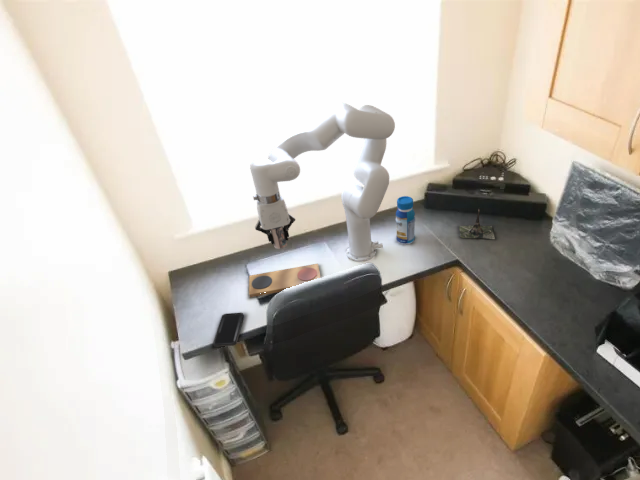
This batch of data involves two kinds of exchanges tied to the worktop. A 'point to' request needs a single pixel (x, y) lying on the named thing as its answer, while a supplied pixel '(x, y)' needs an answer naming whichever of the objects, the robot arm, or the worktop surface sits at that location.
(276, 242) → the beer can
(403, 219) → the beverage bottle
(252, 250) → the worktop surface
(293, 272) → the board
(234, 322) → the phone
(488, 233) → the eiffel tower figurine
